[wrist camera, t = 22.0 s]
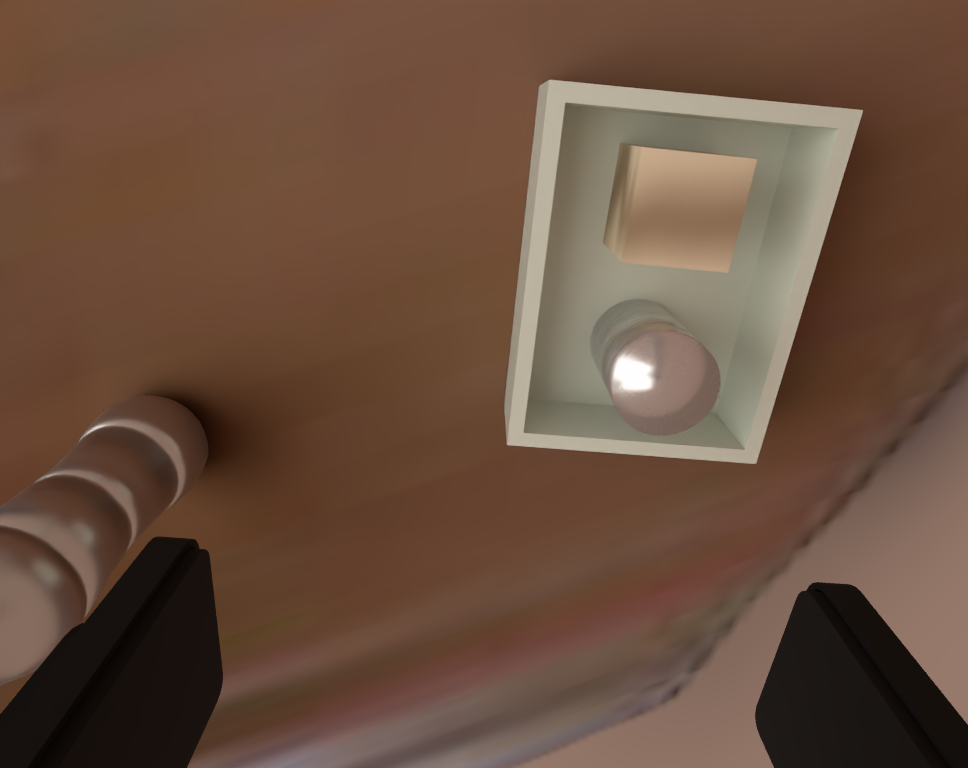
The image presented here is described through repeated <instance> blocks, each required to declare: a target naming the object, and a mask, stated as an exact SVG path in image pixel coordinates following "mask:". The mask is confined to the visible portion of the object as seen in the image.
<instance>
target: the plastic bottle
mask: <svg viewBox="0 0 968 768" xmlns="http://www.w3.org/2000/svg"><path fill="white" fill-rule="evenodd" d="M207 458H208V441H207V438H206V435H205V432H204V429H203V427H202V425H201V423H200V422H199V420H198V419H197V418H196V416H195V415H194V414H193V413H192V412H191V411H190V410H189V409H188V408H186V407H185V406H183V405H182V404H180V403H178V402H176V401H174V400H171V399H168V398H164V397H160V396H156V395H140V396H135V397H132V398H129V399H126V400H124V401H122V402H119V403H117V404H115V405H113V406H111V407H109V408H108V409H106V410H105V411H103V412H102V413H101V414H100V415H99V416H98V417H97V419H96V420H95V421H94V422H93V423H92V424H91V425H90V426H89V428H88V429H87V430H86V431H85V433H84V434H83V436H82V437H81V438H80V440H79V442H78V443H77V444H76V445H75V446H74V447H73V448H72V449H71V450H70V451H69V452H68V453H67V454H66V455H65V456H64V458H63V459H62V460H61V461H60V462H59V463H58V464H57V465H56V466H55V467H54V468H53V469H52V470H51V471H49V472H48V473H47V474H45V475H44V476H42V477H41V478H40V479H38V480H37V481H36V482H35V483H34V484H32V485H30V486H29V487H27V488H26V489H24V490H23V491H22V492H20V493H19V494H17V495H16V496H15V497H13V498H12V499H11V500H9V501H8V502H6V503H5V504H3V505H2V506H0V685H3V684H5V683H8V682H10V681H13V680H15V679H18V678H21V677H23V676H26V675H28V674H30V673H32V672H34V671H36V670H37V669H38V668H39V667H40V665H41V664H42V663H43V662H44V660H45V659H46V658H47V657H48V655H49V654H50V653H51V652H52V651H53V649H54V648H55V647H56V646H57V644H58V643H59V642H60V641H61V640H62V638H63V637H64V636H65V635H66V634H67V633H68V632H69V631H70V630H71V629H72V628H74V627H75V626H77V625H79V624H81V623H83V620H84V618H85V617H86V615H87V614H88V612H89V610H90V608H91V607H92V605H93V603H94V601H95V600H96V598H97V596H98V595H99V593H100V591H101V589H102V588H103V586H104V584H105V582H106V581H107V579H108V577H109V576H110V574H111V573H112V571H113V570H114V569H115V567H116V566H117V565H118V563H119V562H120V560H121V559H122V558H123V556H124V555H125V553H126V552H127V551H128V549H129V548H130V547H131V545H132V544H133V542H134V541H135V540H136V539H137V538H138V537H139V536H140V535H141V534H142V533H143V532H144V531H145V530H146V529H147V528H148V527H149V526H150V525H151V524H152V523H153V522H154V521H155V520H156V519H157V518H158V517H159V516H160V515H161V514H162V513H163V512H164V511H165V510H167V509H168V508H170V507H171V506H172V505H174V504H175V503H176V502H177V501H179V500H180V499H181V498H182V497H183V496H184V495H185V494H186V493H187V492H189V491H190V490H191V489H192V488H193V487H194V486H195V484H196V483H197V481H198V480H199V478H200V475H201V473H202V471H203V469H204V466H205V464H206V461H207Z"/></svg>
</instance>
